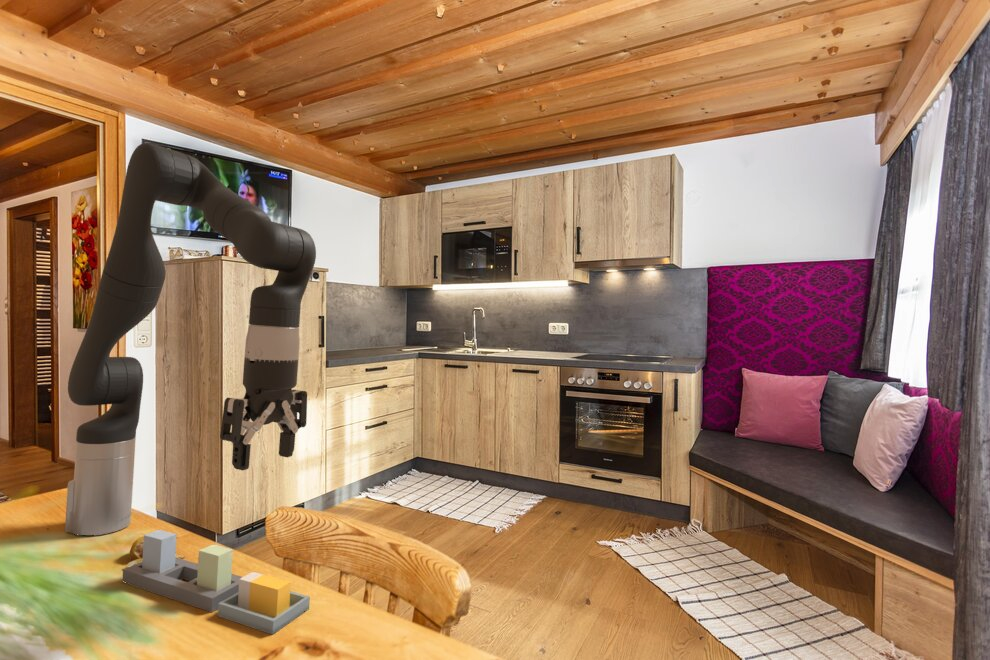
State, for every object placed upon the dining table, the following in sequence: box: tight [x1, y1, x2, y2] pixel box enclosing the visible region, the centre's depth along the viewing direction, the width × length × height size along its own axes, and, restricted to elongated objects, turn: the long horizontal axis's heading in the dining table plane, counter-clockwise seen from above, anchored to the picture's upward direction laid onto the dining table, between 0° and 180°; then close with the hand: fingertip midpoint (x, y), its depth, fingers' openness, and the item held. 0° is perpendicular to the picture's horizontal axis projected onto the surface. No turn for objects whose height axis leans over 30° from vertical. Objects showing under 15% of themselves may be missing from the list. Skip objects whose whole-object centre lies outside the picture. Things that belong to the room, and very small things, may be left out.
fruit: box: [125, 536, 185, 568], centre depth 87 cm, size 8×8×4 cm
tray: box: [217, 590, 311, 635], centre depth 73 cm, size 10×7×2 cm
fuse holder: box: [121, 556, 243, 613], centre depth 78 cm, size 19×6×2 cm, turn 69°
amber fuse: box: [238, 571, 292, 618], centre depth 73 cm, size 4×2×7 cm
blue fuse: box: [142, 529, 178, 574], centre depth 80 cm, size 4×2×7 cm, turn 69°
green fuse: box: [197, 544, 234, 592], centre depth 76 cm, size 4×2×7 cm, turn 69°
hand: (264, 462), depth 76 cm, fingers open, 8 cm apart
